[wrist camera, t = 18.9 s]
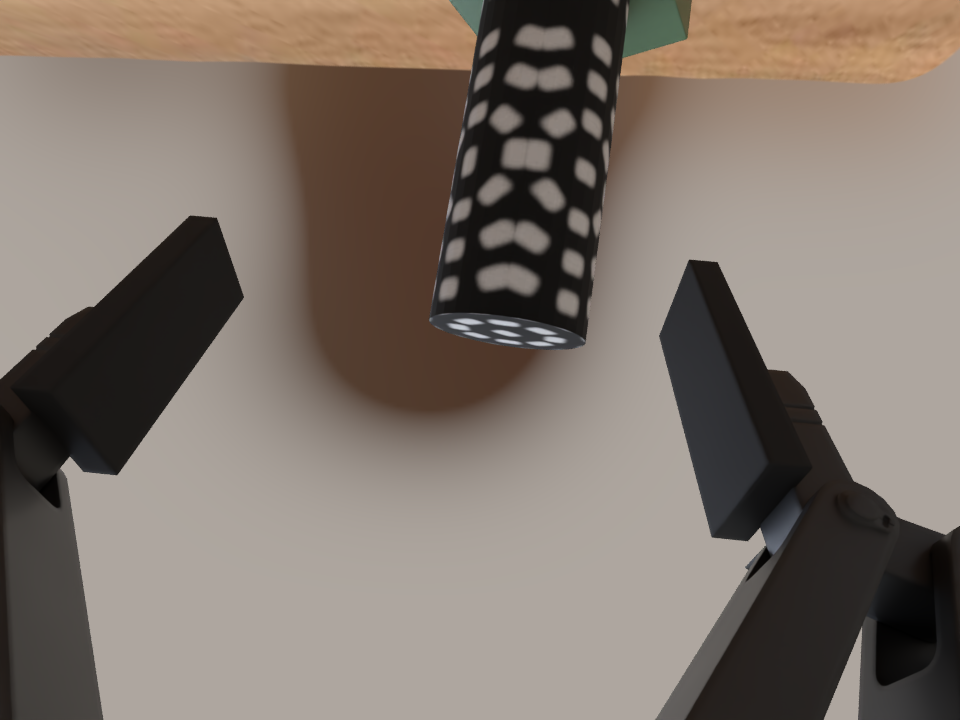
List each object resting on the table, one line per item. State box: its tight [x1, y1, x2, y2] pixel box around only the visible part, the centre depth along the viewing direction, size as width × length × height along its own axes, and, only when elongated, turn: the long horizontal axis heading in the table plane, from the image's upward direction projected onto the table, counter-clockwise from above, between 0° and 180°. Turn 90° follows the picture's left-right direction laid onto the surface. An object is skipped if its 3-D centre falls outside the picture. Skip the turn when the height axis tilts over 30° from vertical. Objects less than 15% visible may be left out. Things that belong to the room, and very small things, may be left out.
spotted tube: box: [429, 0, 630, 350], centre depth 28 cm, size 8×8×20 cm
